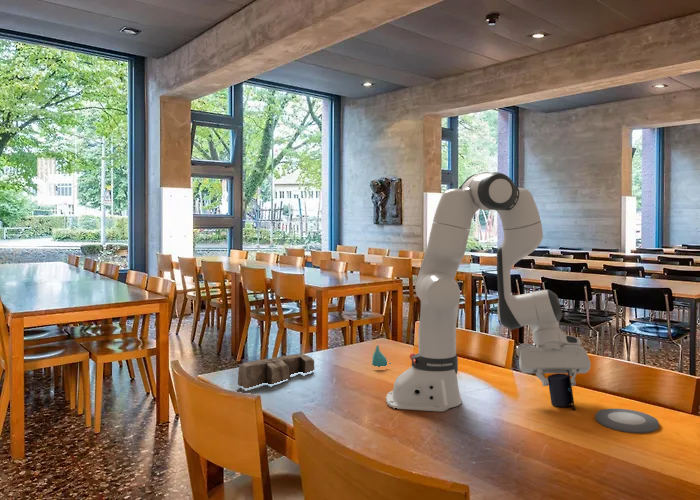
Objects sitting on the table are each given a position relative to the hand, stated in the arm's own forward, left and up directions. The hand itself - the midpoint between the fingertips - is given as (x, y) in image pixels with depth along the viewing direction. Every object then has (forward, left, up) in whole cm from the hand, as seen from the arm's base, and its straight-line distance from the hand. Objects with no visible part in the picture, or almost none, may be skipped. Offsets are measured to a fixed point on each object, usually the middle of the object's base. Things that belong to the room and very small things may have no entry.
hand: (559, 385), depth 161 cm
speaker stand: (+13, -13, -6) cm, 20 cm away
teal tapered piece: (-49, +44, -6) cm, 66 cm away
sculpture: (-86, +25, -6) cm, 90 cm away
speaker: (0, 0, -6) cm, 6 cm away
